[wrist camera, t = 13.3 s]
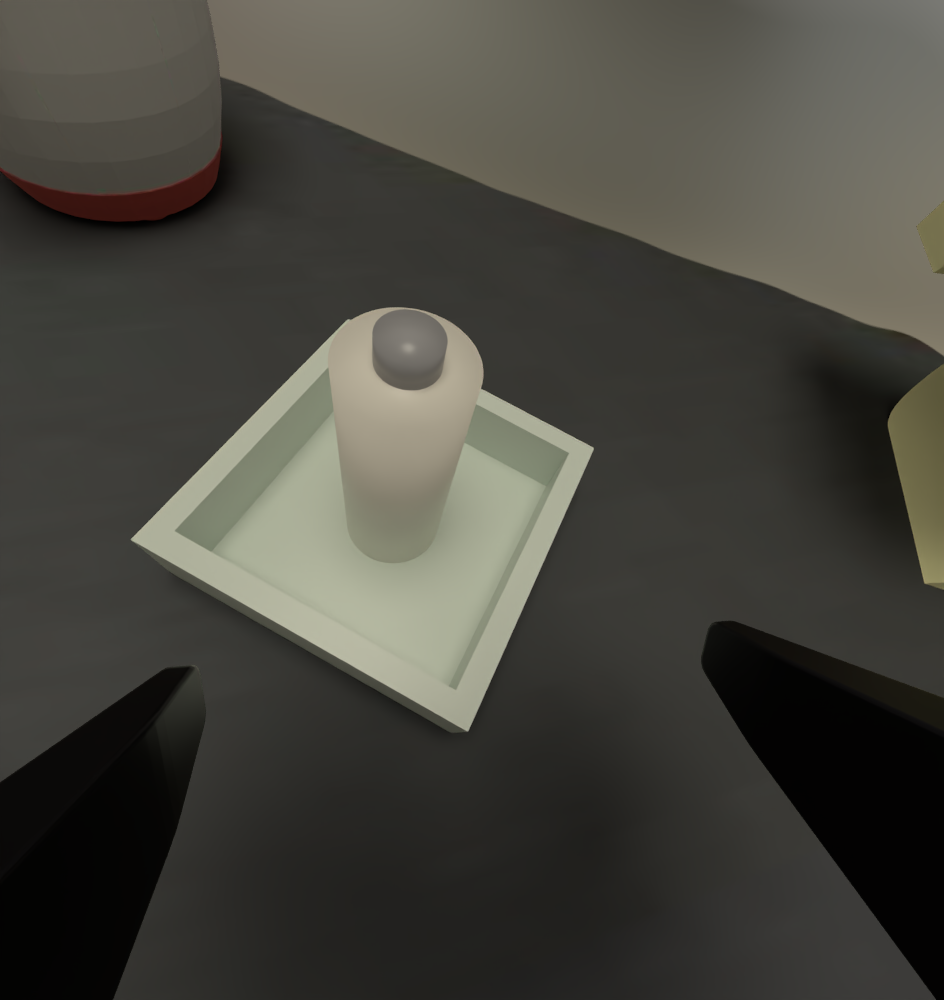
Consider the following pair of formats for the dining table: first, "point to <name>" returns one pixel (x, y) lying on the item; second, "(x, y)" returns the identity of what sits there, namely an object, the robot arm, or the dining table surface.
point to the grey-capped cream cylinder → (400, 424)
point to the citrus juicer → (110, 105)
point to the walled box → (353, 575)
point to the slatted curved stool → (924, 438)
